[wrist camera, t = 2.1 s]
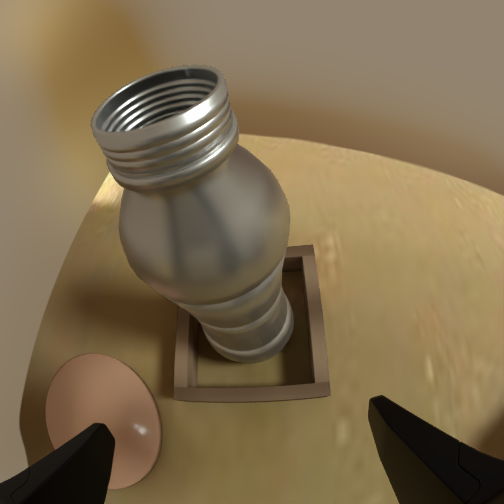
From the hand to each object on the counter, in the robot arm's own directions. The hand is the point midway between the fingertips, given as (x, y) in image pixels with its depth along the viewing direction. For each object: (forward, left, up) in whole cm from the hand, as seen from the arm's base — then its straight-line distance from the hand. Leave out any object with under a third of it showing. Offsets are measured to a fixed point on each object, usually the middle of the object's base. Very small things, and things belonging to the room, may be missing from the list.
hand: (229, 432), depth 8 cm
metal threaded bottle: (+7, +1, -14) cm, 16 cm away
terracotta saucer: (-2, +15, -13) cm, 20 cm away
